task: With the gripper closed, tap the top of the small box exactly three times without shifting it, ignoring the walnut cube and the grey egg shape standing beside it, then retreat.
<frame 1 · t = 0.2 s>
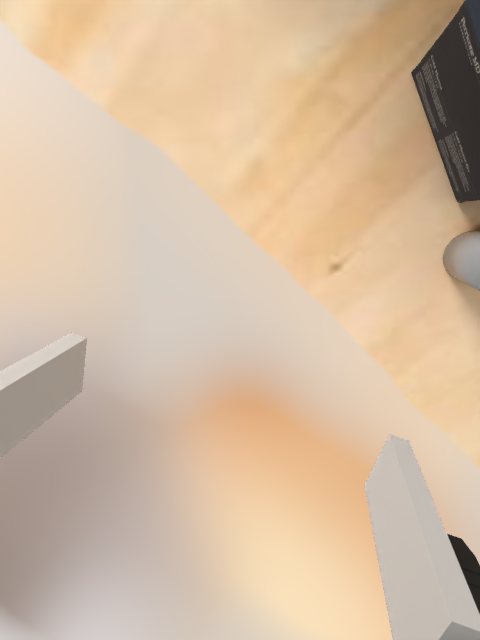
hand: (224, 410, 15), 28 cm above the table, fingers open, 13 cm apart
small box: (471, 120, 33), on the table
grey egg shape: (469, 256, 36), on the table
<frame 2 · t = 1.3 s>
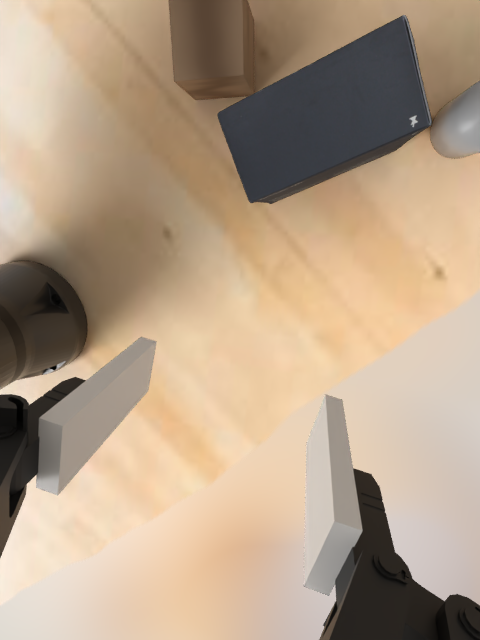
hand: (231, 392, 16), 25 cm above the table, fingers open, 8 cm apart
walnut cube: (223, 62, 34), on the table
small box: (318, 145, 35), on the table
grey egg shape: (460, 128, 32), on the table
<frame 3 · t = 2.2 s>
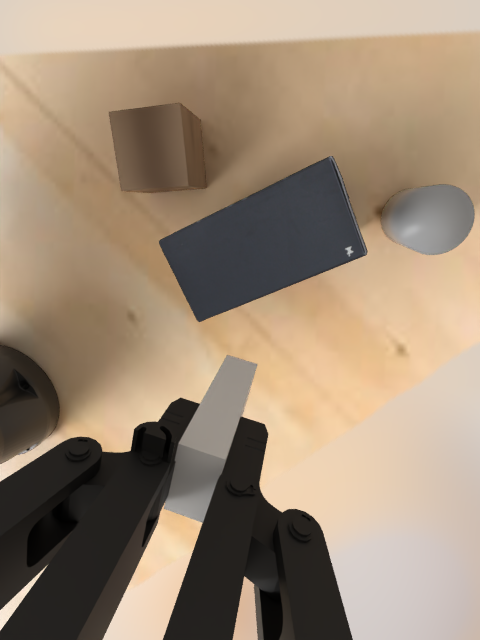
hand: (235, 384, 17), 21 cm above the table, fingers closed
walnut cube: (174, 157, 34), on the table
small box: (273, 233, 35), on the table
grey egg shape: (409, 217, 32), on the table
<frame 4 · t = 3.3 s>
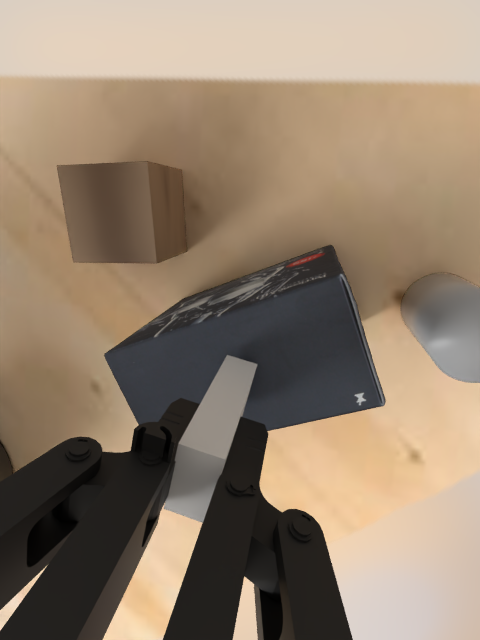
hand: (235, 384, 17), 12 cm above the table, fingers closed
walnut cube: (148, 212, 28), on the table
small box: (266, 309, 29), on the table
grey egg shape: (437, 306, 26), on the table
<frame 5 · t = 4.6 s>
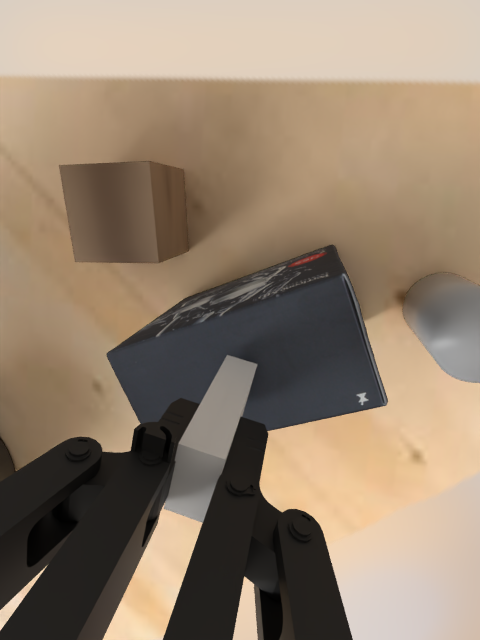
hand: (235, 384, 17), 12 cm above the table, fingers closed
walnut cube: (150, 212, 28), on the table
small box: (267, 309, 29), on the table
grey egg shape: (439, 306, 26), on the table
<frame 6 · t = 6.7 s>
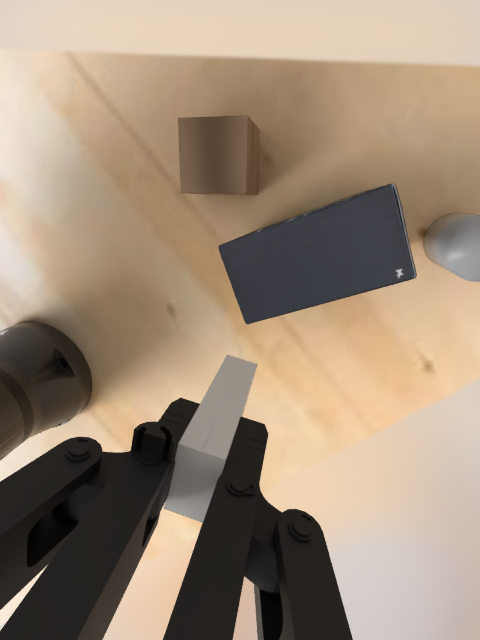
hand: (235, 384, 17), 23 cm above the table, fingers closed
walnut cube: (229, 163, 36), on the table
small box: (316, 243, 37), on the table
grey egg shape: (452, 240, 34), on the table
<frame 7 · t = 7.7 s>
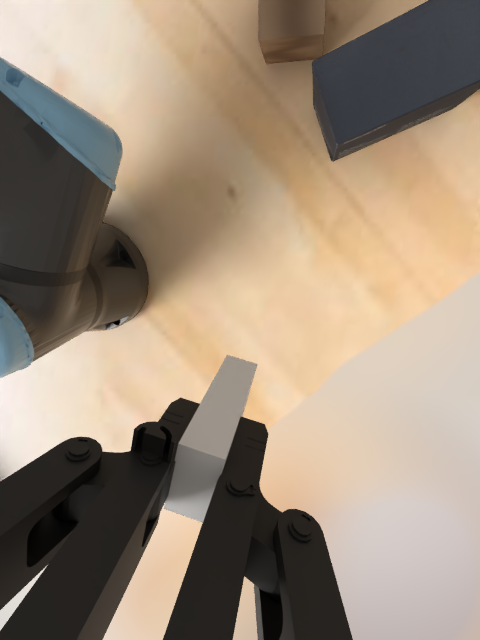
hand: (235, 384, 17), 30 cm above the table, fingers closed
walnut cube: (294, 27, 37), on the table
small box: (380, 105, 38), on the table
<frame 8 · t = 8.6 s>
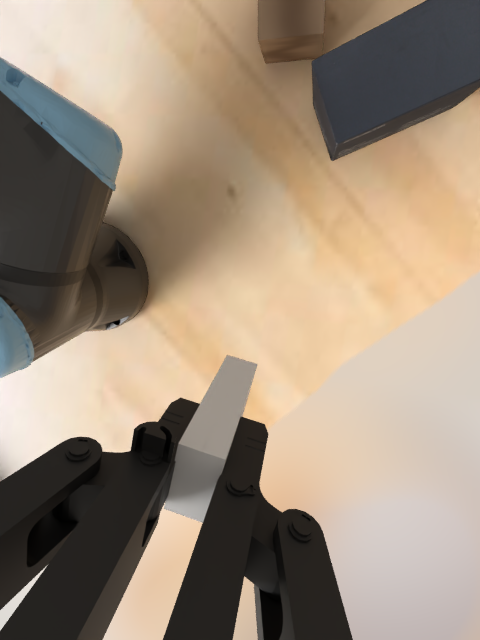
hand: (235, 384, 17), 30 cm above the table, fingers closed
walnut cube: (294, 27, 37), on the table
small box: (379, 104, 38), on the table
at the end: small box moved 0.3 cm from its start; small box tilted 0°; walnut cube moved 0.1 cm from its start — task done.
